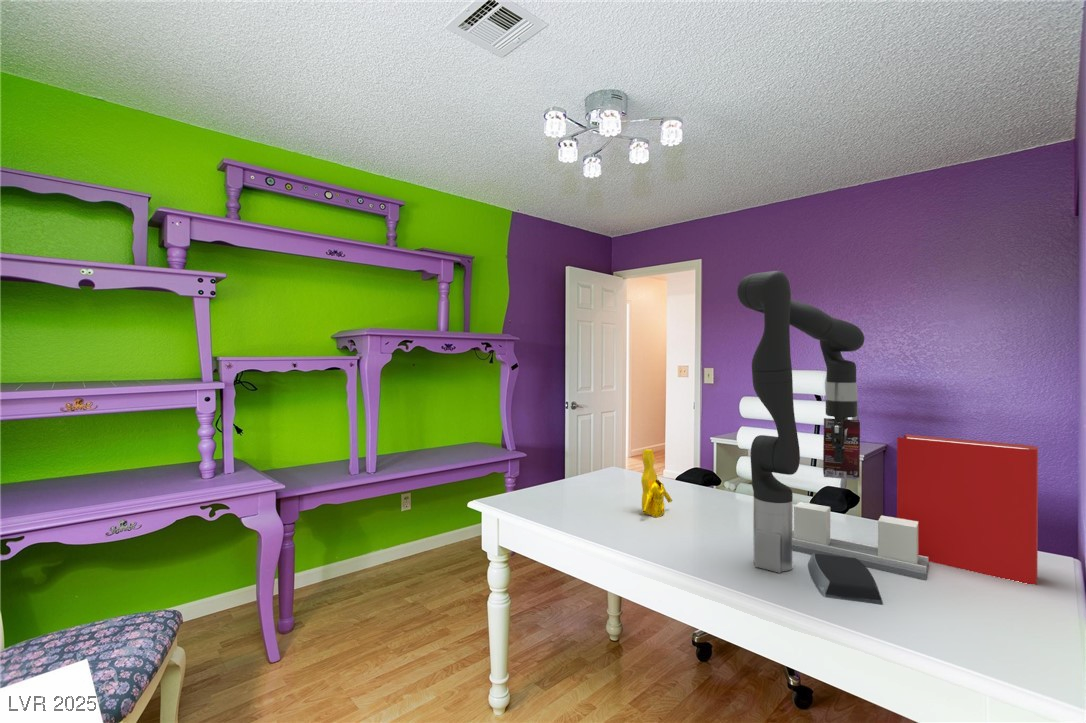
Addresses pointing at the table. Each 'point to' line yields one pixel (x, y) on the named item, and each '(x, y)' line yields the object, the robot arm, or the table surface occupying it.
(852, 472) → the supplement box
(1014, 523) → the book
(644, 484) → the figure statuette
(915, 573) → the board
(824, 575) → the external hard drive
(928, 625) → the table surface
